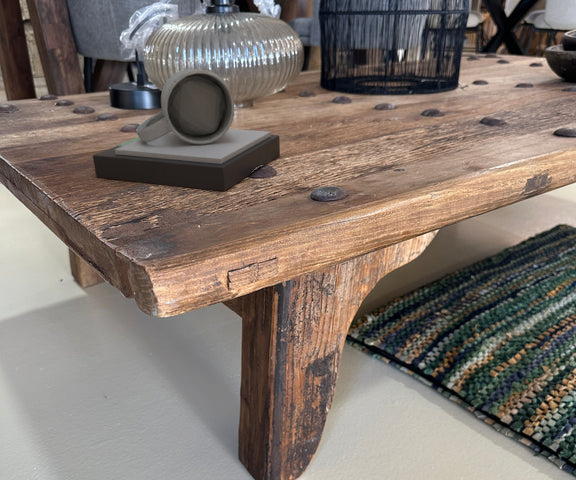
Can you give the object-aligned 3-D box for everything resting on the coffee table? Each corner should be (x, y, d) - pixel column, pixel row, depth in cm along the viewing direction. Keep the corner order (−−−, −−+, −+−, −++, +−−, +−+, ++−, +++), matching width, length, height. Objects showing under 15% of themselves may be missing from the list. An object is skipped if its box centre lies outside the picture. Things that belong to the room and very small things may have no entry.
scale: (96, 177, 63) (91, 149, 62) (168, 146, 76) (165, 122, 74) (224, 191, 58) (222, 161, 57) (280, 155, 70) (279, 130, 69)
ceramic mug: (222, 127, 71) (216, 60, 67) (237, 141, 64) (232, 68, 60) (135, 136, 68) (124, 67, 64) (141, 151, 61) (129, 76, 57)
